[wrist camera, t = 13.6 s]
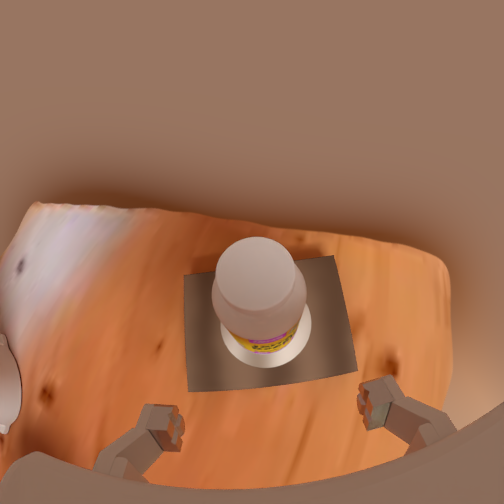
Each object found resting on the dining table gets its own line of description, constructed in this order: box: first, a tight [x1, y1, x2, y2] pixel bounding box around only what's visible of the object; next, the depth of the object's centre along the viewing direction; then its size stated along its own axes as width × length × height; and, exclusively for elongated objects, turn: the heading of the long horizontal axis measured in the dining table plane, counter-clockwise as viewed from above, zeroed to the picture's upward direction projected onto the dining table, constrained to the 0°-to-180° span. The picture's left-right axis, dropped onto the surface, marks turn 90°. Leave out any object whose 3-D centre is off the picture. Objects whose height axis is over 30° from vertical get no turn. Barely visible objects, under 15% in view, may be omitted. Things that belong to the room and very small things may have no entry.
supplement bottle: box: [212, 237, 307, 355], centre depth 21 cm, size 7×7×13 cm
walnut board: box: [184, 255, 358, 392], centre depth 28 cm, size 17×13×3 cm
